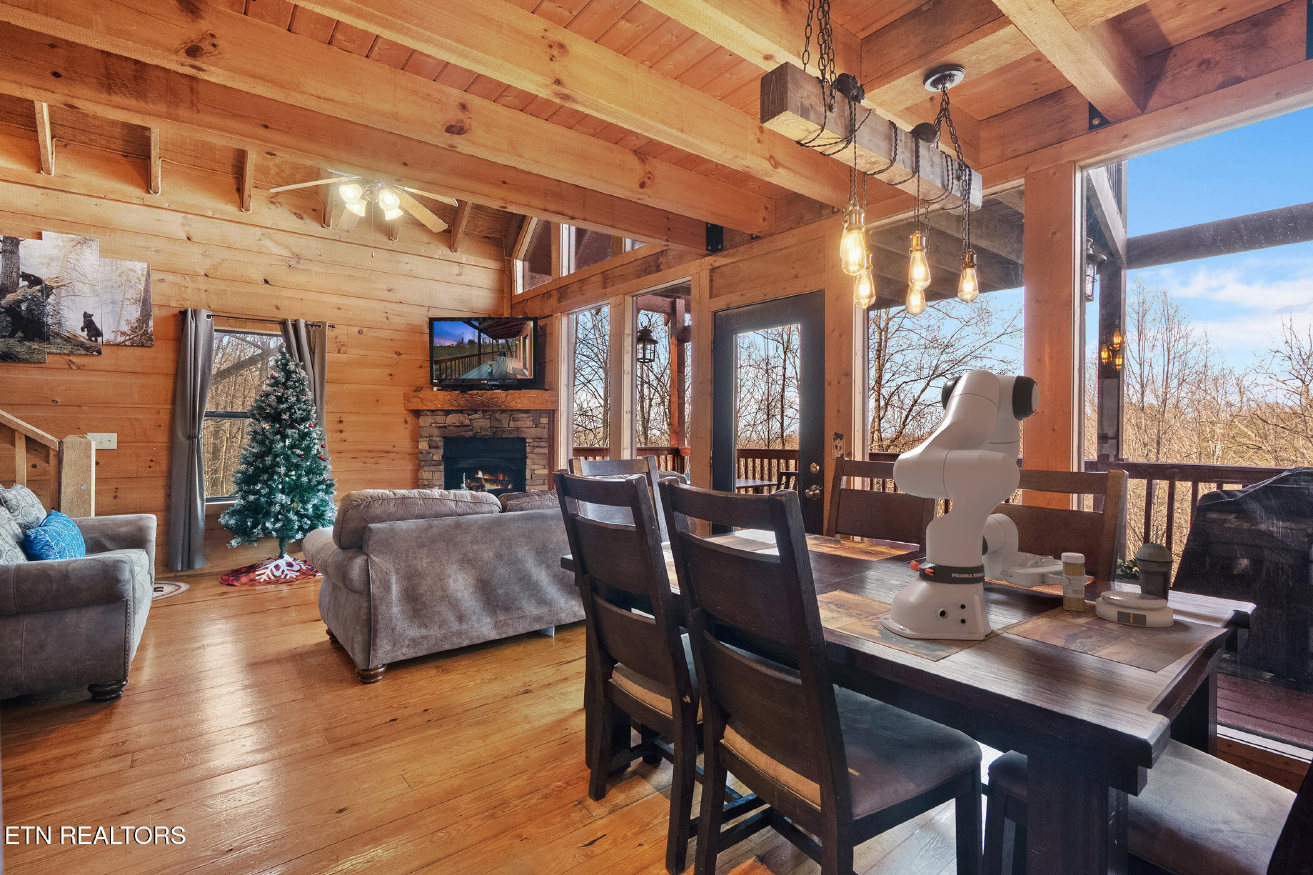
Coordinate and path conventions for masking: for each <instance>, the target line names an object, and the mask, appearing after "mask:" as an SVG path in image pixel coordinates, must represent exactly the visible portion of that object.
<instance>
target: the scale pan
mask: <svg viewBox="0 0 1313 875" xmlns="http://www.w3.org/2000/svg"><path fill="white" fill-rule="evenodd" d="M1100 598H1101V599H1102V600H1103V601H1105V602H1108V603H1112V604H1115V605H1120V606H1126V607H1132V608H1142V609H1163V608H1166V607H1167V606H1168V603H1167V601H1166V600H1165V599H1163V598H1160V597H1156V596H1152V595H1148V594H1142V593H1141V592H1132V591H1124V590H1109V591H1102V592H1101V593H1100Z"/></svg>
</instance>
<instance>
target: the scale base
mask: <svg viewBox="0 0 1313 875" xmlns="http://www.w3.org/2000/svg"><path fill="white" fill-rule="evenodd" d="M1095 615H1096V616H1097V617H1098V618H1101V619H1104V620H1107V621H1110V622H1113V623H1116V624H1117V623H1118V624H1123V625H1128V626H1134V627H1143V628H1169V627H1172V626H1174V609H1173V607H1171V606H1169V605H1167V607H1166V608H1163V609H1142V608H1132V607H1126V606H1120V605H1115V604H1112V603H1108V602H1105V601H1103V600H1102V599H1101V597H1098V598H1096V599H1095Z"/></svg>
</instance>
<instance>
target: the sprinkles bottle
mask: <svg viewBox="0 0 1313 875" xmlns="http://www.w3.org/2000/svg"><path fill="white" fill-rule="evenodd" d="M1061 561H1062V563H1063V577H1067V578H1070V579H1071V581H1070V582H1071V584H1070V585H1067V586H1064V585H1062V596H1063V598H1062V600H1063V603H1062V604H1063V605H1062V608H1063V609H1064V610H1066V611H1072V612H1076V613H1077V612H1078V613H1079V612H1084V611H1086V607H1085V606H1086V605H1085V604H1086V600H1085V596H1086V593H1085V592H1086V591H1085V589H1086V588H1085V587H1086V586H1085V584H1086V583H1084V568H1085V561H1086V558H1085V555H1084V554H1082V553H1078V552H1062V553H1061Z"/></svg>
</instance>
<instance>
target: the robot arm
mask: <svg viewBox="0 0 1313 875" xmlns="http://www.w3.org/2000/svg"><path fill="white" fill-rule="evenodd" d="M1040 399H1041V393H1040V390H1039V386H1038V383H1037V381H1036V380H1035V379H1034V378H1032V377H1030V376H1024V375H1017V376H1013V375H1000V374H995V373H993V372H991V371H989V370H986V369H973V370H969V371H967V372H965V373H964V374H963V375H958V376H953V377H950V378H948V379H947V380H946V381H945V382H944V384H943V386H942V390H941V393H940V400H941V406H942V409H943V410H944V412H943V415H942V418H941V420H940V423H939V425H938V426H937V428H936V429H935V430H934V432H932V433H931V434H930V435H929V437H928V438H926V439H925V440H923V442H921V443H920V444H919V445H916V446H915V447H913V448H912V449H909V450H907V451H904V452H902V453H900V455H899V456H898V457H897V459H896V460H895V462H894V465H893V468H892V478H893V481H894V483H895V485H896V487H897V489H898V490H899V491H901V493H904V494H907V495H911V496H915V497H919V498H923V499H924V498H927V499H943V500H951V501H952V506H951V507H952V508H951V509H950V511H949V512H948V513H945V514H942V515H940V516H938V517H936V518H934V519H933V520H931V521H930V522H929V523H928V525H927V527H926V530H925V532H926V533H925V538H926V540H925V543H926V544H925V545H926V546H925V547H926V548H925V549H926V552H925V553H926V559H925V560H924V562H922V564H921V563H919V562H917V561H913V560H912V561H911V562H910V563H909V569H910V570H911V571H914V572H918V577H917V578H916V579H915V580H912V581H911V583H909V584H908V585H906V587H904V588H903V589H901V590H900V591H898V592H897V593H895V595H894V596H893V598H892V601H891V605H890V606H891V607H890V614H882V615H881V616H880V624H881V625H882V626H883V627H885V628H886V629H887V630H889V631H890V632H893V633H895V634H897V635H899V636H902V637H906V638H910V639H928V640H929V639H930V640H931V639H933V640H935V639H936V640H965V641H966V640H969V641H970V640H972V641H983V640H985V639H986V635H989V634H991V632H992V626H991V624H990V621H989V617H988V613H987V608H986V600H985V595H984V594H985V593H984V587H985V580H986V578H987V579H989V580H994V581H998V582H1002V581H1003V582H1006V583H1007V584H1010V585H1013V586H1018V587H1023V588H1026V589H1032V588H1035V587H1043V586H1050V585H1051V586H1053V585H1057V586H1059V585H1060V586H1063V585H1064V586H1067V585H1070V584H1071V582H1070V581H1071V579H1070V578H1067V577H1063V563H1062V559H1054V556H1051V555H1043V554H1042V555H1041V554H1034V553H1029V552H1022V551H1019V546H1020V533H1019V528H1018V525H1017V524H1016V523H1015V521H1014V520H1013V519H1012V518H1011V517H1010V516H1008V515H1007V514H1004V513H995V514H994V513H993V514H992V512H993V511H994V510H995V509H996V508H997V507H998V506H999V505H1000V504H1001V503H1003V502H1004V501H1006V500H1007V499H1009V498H1010V497H1012V496H1013V495H1014V494H1015V493H1016V491H1017V489H1018V487H1019V484H1020V480H1021V472H1020V469H1019V466H1018V464H1017V462H1018V458H1019V455H1020V449H1021V447H1020V446H1021V444H1020V443H1021V435H1020V434H1021V432H1020V430H1021V429H1020V428H1021V427H1020V422H1021V421H1023V420H1024V419H1026V418H1030V416H1032V415H1034V414H1035V413H1036V410H1037V408H1038V406H1039V404H1040V401H1041V400H1040ZM1087 583H1088V577H1087V575H1086V568H1085V567H1084V584H1087Z"/></svg>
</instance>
